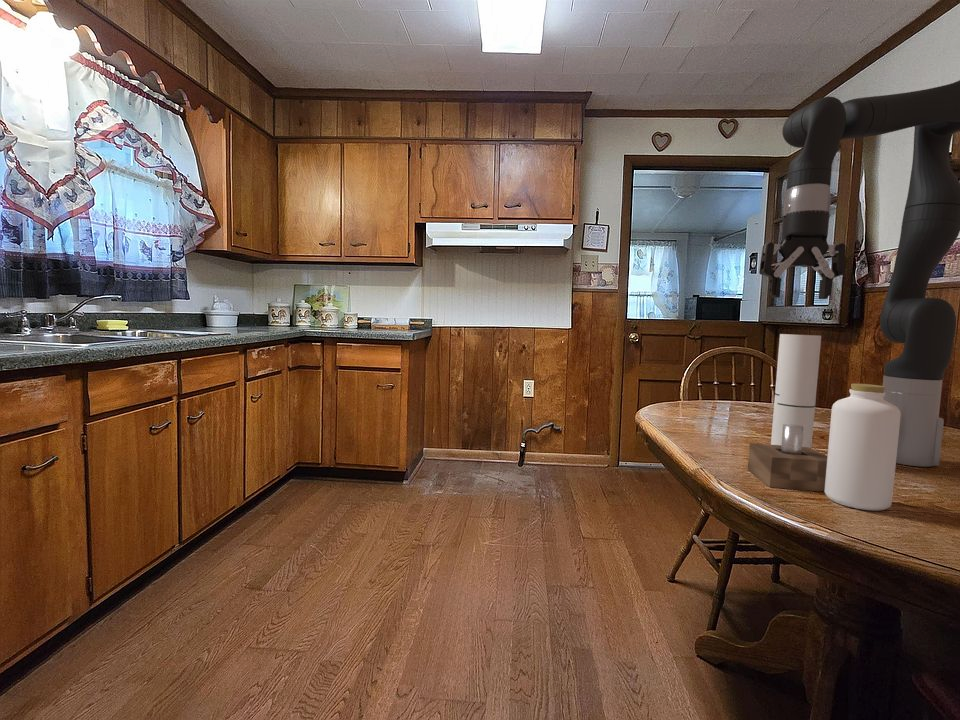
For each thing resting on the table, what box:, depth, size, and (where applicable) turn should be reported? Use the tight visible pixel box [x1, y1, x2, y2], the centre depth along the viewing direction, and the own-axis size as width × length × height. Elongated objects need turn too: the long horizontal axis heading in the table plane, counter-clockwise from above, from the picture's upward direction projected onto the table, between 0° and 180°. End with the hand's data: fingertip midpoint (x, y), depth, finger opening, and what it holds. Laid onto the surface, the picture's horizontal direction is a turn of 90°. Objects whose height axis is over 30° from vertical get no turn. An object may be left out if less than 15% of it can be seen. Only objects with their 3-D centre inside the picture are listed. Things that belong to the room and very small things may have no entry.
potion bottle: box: [824, 383, 901, 512], centre depth 78 cm, size 8×8×18 cm
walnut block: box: [747, 442, 828, 492], centre depth 89 cm, size 10×10×5 cm
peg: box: [781, 424, 804, 455], centre depth 89 cm, size 3×3×8 cm
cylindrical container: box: [770, 333, 822, 449], centre depth 106 cm, size 7×7×25 cm
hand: (799, 298), depth 100 cm, fingers open, 8 cm apart
